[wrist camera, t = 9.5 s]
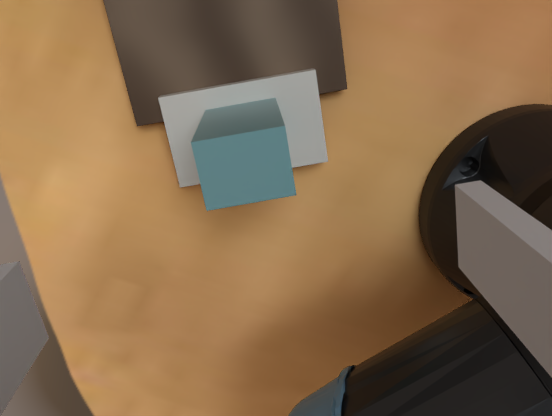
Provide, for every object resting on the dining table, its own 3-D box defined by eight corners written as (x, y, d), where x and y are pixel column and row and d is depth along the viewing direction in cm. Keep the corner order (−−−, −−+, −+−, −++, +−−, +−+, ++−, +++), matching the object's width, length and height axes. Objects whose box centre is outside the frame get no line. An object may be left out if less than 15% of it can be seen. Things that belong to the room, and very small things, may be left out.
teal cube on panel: (313, 68, 33) (339, 88, 24) (325, 157, 35) (354, 208, 26) (160, 95, 33) (126, 126, 24) (182, 183, 35) (158, 243, 26)
